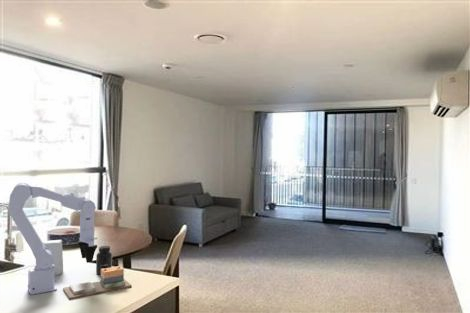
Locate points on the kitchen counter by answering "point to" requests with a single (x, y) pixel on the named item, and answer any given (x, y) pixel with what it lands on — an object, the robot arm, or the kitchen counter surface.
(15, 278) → the kitchen counter surface
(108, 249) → the supplement bottle
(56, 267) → the skincare box
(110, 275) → the plate
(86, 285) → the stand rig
